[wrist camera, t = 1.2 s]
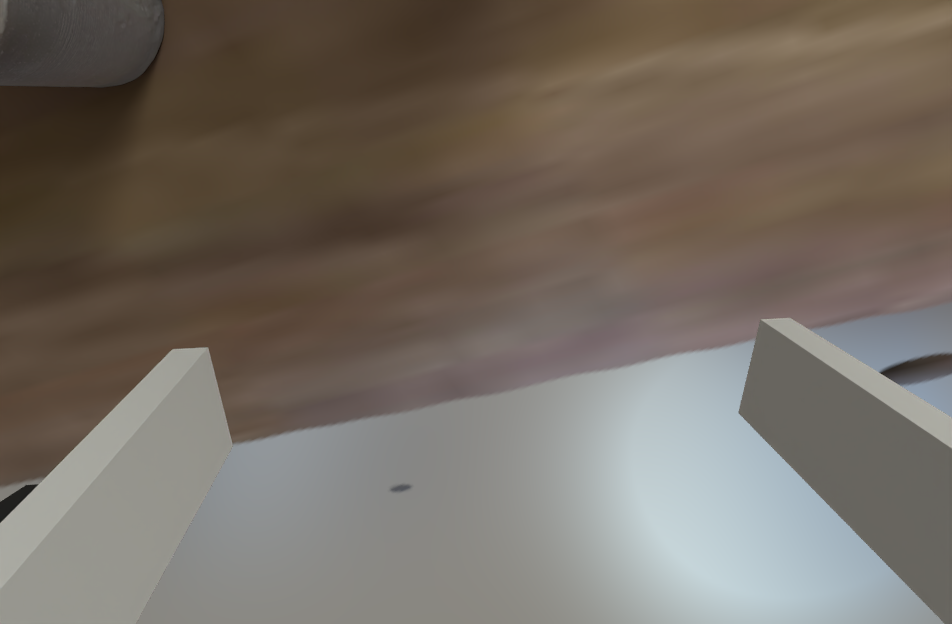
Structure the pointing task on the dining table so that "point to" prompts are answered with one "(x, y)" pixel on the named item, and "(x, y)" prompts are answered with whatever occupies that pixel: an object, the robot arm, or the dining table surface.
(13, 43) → the pillar candle
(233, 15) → the dining table surface
